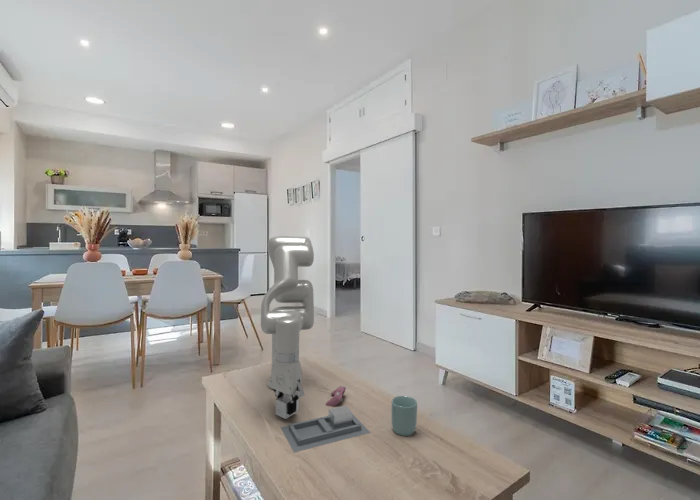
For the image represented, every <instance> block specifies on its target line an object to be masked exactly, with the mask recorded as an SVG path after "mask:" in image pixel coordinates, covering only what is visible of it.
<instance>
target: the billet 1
mask: <svg viewBox="0 0 700 500" xmlns="http://www.w3.org/2000/svg"><path fill="white" fill-rule="evenodd" d="M284 394H285V393H284ZM293 397H294V394H293ZM299 399H300V398H299ZM299 399H298V400H297V404H296V412H294V413H293V414H291V415H289V414H288V403H289V402H290V399H289V395H287V394H285V395H283V396H281V397H279V398H278V399H277V398H276V399H275V415H276V416H277V417H281V418H282V419H285V420H287V419H288V418H289V417H292V416H293V415H294V414H296V413H298V412H299V411H300V408H299V407H300V405H299V404H300V403H299V402H300V400H299Z"/></svg>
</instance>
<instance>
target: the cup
mask: <svg viewBox="0 0 700 500" xmlns="http://www.w3.org/2000/svg"><path fill="white" fill-rule="evenodd" d="M390 411H391V413H390V415H391V418H390V419H391V428H392V430H393V433H395V434H397V435H399V436H402V437H409V436H412V435H413V434H414V433H415V431H416V428H417V421H418V402H417V400H416V399H415V398H413V397H411V396H406V395H398V396H397V395H396V396H395V397H393V398H392V400H391V410H390Z"/></svg>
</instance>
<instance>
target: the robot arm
mask: <svg viewBox="0 0 700 500" xmlns="http://www.w3.org/2000/svg"><path fill="white" fill-rule="evenodd" d="M267 250H268V255H269V259H270V262H271V264H272V267H273V284H272V286H271V287H270V288H268V290H267V291H266V293H265V294H264V296H263V298H262V302H261V305H260V307H261V308H260V328H261V331H262V332H263V333H264V334H267V335H271V373H270V379H268V381H267V387H268V388H269V389H271V390H273V392H274V396H275V398H276V399H278V398H279V397H281V396H283V395H285V394H287V395H289V399H290V402H289V403H288V414H289V415H291V414H293V413H294V412H296V404H297V400H298V399H300V398H302V397H304V396H305V391H304V388H303V373H302V365H301V360H300V332H301V331H306V330H310V329H312V328H313V326H314V324H315V310H314V309H315V307H314V302H315V301H314V300H315V299H314V297H315V296H314V287H313V284H312V282H311V281H310V280H308V279H299V268H300V267H301V268H302V267H303V268H304V267H307V268H309V267H312V265H313V263H314V258H315V257H314V256H315V254H314V248H313V245H312V241H311V239H310V238H309V237H306V236H287V235H286V236H284V235H283V236H282V235H281V236H280V235H279V236H274V237H270V238H269V240H268V241H267ZM273 300H275V302H277V303H279V304H302V305H296V306H295V305H290V306H289V305H286V306H285V305H284V306H278V307H275V308H273V309H272V310H271V311H270V305H271V302H272V301H273ZM293 394H294V397H293ZM296 413H297V412H296ZM293 415H294V414H293ZM291 416H292V415H291Z"/></svg>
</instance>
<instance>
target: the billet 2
mask: <svg viewBox="0 0 700 500" xmlns="http://www.w3.org/2000/svg"><path fill="white" fill-rule="evenodd" d="M352 414H353V411H352V410H351V409H350V408H349V407H348V406H347V405H342V406H341V405H340V406H337V407H333V408H328V416H329V417H328V425H329V426H330V427H331V428H332V430H337V429H341V428H345V427H349V426H352Z"/></svg>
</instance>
